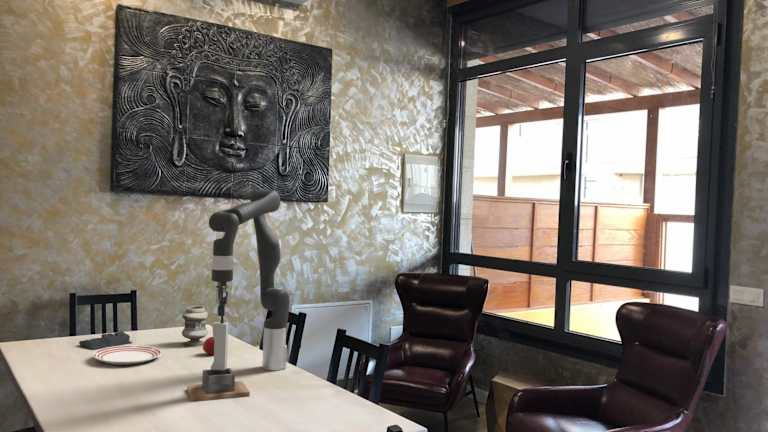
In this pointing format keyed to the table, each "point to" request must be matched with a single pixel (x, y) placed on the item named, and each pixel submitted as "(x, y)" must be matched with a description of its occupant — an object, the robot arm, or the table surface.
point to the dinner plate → (127, 354)
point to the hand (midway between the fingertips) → (220, 315)
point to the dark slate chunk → (107, 341)
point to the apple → (209, 346)
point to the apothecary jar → (195, 325)
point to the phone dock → (217, 386)
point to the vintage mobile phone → (220, 345)
